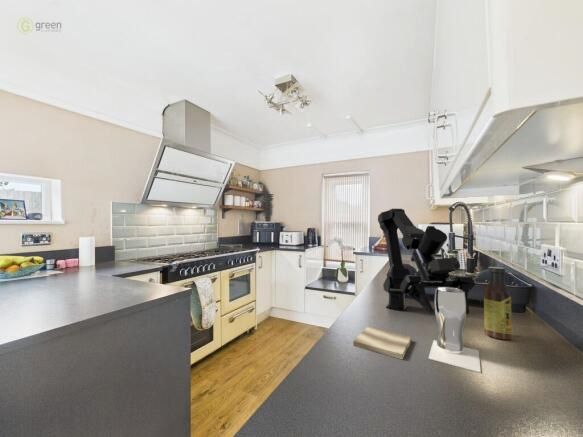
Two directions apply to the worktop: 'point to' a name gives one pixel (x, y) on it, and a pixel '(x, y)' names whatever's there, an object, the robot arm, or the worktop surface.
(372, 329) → the birch board
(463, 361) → the card
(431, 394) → the worktop surface
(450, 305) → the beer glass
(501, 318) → the sauce bottle
